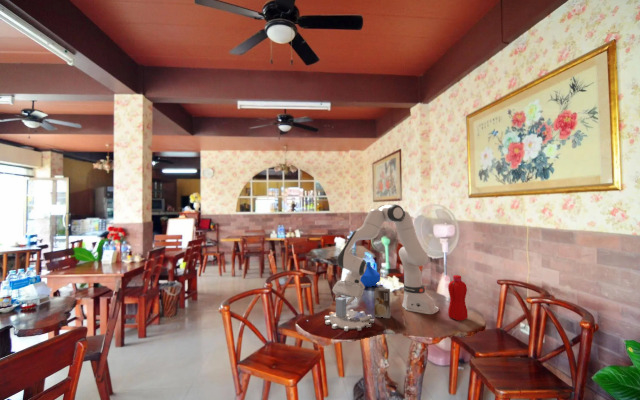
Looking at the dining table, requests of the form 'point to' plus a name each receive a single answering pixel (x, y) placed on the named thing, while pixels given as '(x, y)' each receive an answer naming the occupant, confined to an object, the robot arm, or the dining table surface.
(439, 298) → the dining table surface
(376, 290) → the coffee box
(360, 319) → the sprocket
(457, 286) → the water bottle
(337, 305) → the drive pin
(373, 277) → the vase
